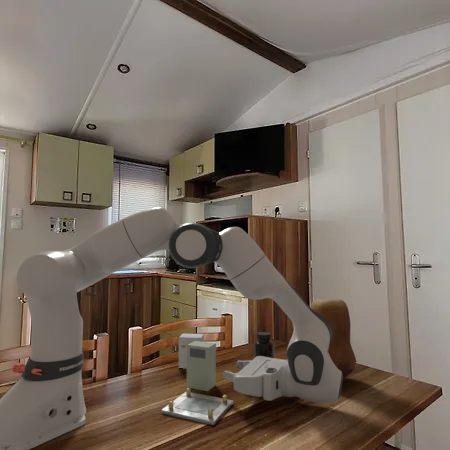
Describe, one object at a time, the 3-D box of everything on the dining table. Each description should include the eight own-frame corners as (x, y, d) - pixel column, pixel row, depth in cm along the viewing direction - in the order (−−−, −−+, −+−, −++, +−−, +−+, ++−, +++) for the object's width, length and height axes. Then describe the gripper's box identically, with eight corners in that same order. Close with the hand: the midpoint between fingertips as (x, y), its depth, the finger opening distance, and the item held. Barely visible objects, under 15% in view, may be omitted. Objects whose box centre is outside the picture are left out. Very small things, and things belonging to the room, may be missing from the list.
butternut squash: (322, 369, 113) (320, 294, 115) (362, 379, 104) (360, 298, 106) (302, 380, 102) (301, 298, 104) (345, 393, 93) (343, 302, 96)
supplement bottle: (269, 365, 116) (268, 330, 117) (278, 372, 109) (278, 335, 111) (250, 367, 114) (250, 331, 115) (259, 374, 107) (259, 336, 108)
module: (207, 391, 94) (208, 347, 95) (186, 387, 97) (187, 344, 98) (215, 385, 98) (215, 343, 100) (194, 381, 101) (195, 340, 102)
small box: (204, 364, 117) (204, 333, 118) (201, 369, 111) (201, 337, 112) (181, 363, 118) (182, 333, 119) (178, 368, 112) (178, 336, 113)
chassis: (213, 425, 75) (213, 414, 75) (161, 413, 81) (161, 403, 81) (233, 403, 86) (233, 394, 86) (186, 394, 92) (186, 385, 92)
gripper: (287, 354, 99) (243, 348, 104) (268, 376, 80) (215, 368, 85) (287, 376, 98) (243, 369, 103) (267, 404, 79) (215, 393, 85)
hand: (230, 368), depth 94 cm, fingers open, 8 cm apart
